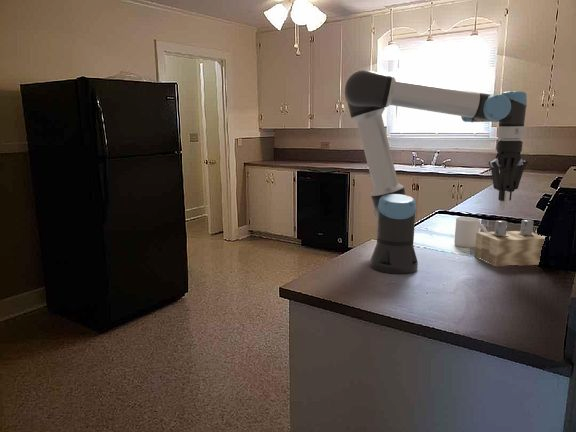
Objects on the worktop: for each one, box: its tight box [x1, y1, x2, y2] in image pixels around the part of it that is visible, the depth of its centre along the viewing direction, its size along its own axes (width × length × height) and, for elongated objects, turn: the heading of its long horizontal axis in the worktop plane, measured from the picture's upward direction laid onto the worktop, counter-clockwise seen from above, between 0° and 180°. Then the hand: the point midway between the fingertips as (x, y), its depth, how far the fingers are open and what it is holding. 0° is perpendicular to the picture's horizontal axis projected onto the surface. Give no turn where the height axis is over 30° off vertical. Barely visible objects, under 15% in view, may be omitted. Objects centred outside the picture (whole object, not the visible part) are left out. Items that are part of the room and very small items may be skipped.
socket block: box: [473, 230, 546, 267], centre depth 152 cm, size 20×12×9 cm, turn 99°
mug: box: [453, 216, 488, 249], centre depth 170 cm, size 9×12×11 cm
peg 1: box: [493, 220, 508, 237], centre depth 150 cm, size 4×4×9 cm
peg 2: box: [520, 219, 535, 237], centre depth 151 cm, size 4×4×9 cm
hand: (503, 210), depth 148 cm, fingers closed
